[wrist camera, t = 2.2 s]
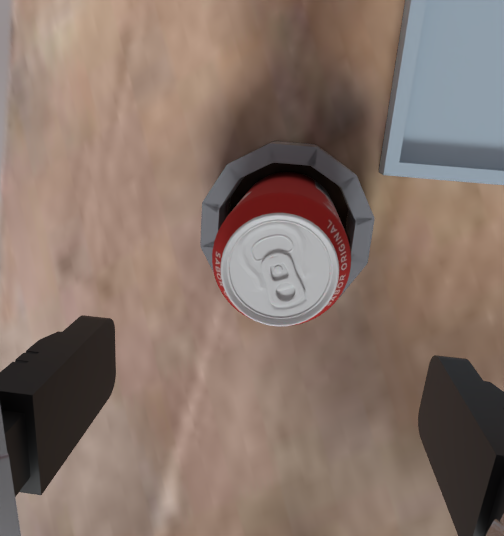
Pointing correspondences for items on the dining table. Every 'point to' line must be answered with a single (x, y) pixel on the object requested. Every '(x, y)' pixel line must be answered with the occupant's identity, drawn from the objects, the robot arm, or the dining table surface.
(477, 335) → the dining table surface
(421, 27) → the tray
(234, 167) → the sleeve
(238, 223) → the beverage can
